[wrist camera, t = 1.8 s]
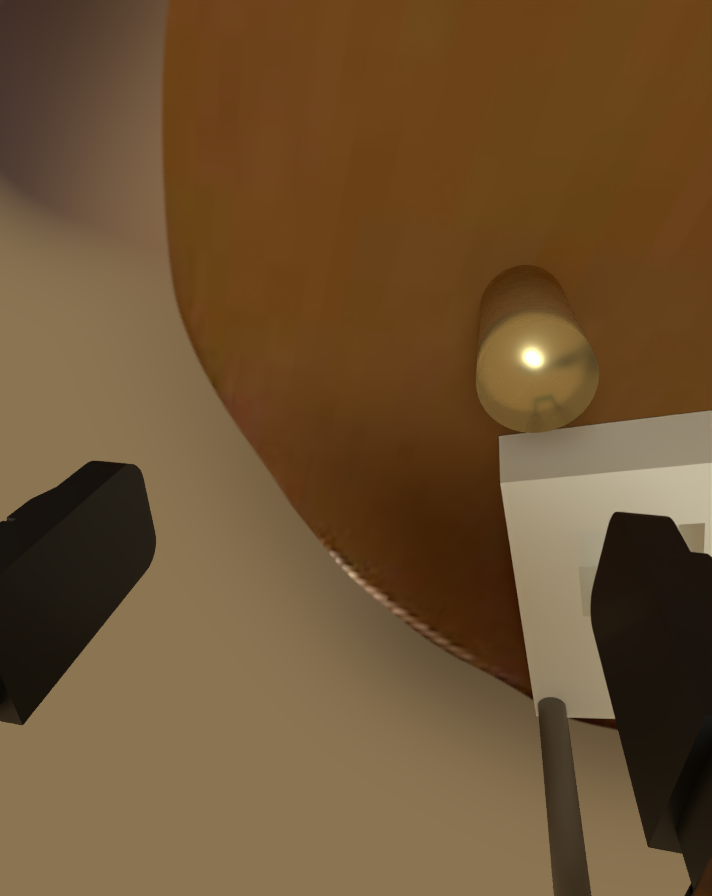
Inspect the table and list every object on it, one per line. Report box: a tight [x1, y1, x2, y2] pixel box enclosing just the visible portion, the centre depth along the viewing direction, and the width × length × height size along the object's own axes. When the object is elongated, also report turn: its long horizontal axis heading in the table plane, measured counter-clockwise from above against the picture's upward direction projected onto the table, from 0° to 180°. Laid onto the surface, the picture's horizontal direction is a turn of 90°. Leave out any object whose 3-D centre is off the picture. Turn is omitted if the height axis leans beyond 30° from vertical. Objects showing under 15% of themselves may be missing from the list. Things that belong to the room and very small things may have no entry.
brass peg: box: [476, 265, 599, 433], centre depth 23 cm, size 4×4×10 cm
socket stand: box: [499, 410, 712, 896], centre depth 24 cm, size 12×17×21 cm
